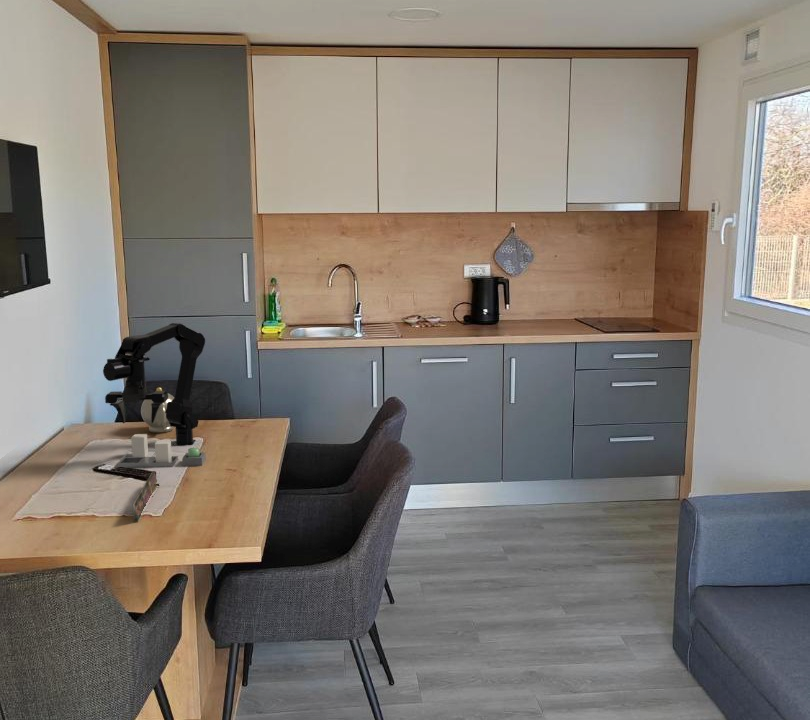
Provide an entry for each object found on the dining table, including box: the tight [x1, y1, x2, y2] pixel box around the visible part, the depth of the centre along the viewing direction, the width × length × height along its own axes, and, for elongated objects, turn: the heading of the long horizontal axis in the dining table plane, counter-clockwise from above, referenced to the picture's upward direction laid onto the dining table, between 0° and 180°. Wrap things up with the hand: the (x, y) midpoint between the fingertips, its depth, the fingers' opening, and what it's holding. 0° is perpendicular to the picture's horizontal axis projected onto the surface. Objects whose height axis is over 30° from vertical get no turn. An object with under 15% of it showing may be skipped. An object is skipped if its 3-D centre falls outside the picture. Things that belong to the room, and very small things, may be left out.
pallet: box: [116, 455, 179, 469], centre depth 253 cm, size 8×17×2 cm, turn 93°
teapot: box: [140, 387, 175, 434], centre depth 294 cm, size 18×14×16 cm
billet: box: [130, 433, 149, 457], centre depth 262 cm, size 4×4×7 cm
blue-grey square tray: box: [119, 449, 155, 461], centre depth 262 cm, size 10×10×1 cm
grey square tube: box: [181, 452, 207, 467], centre depth 253 cm, size 6×6×4 cm
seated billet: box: [154, 439, 173, 463], centre depth 252 cm, size 4×4×7 cm
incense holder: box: [132, 469, 160, 523], centre depth 220 cm, size 30×1×5 cm, turn 7°
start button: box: [187, 447, 200, 457], centre depth 253 cm, size 3×3×3 cm
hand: (138, 422), depth 260 cm, fingers open, 9 cm apart
